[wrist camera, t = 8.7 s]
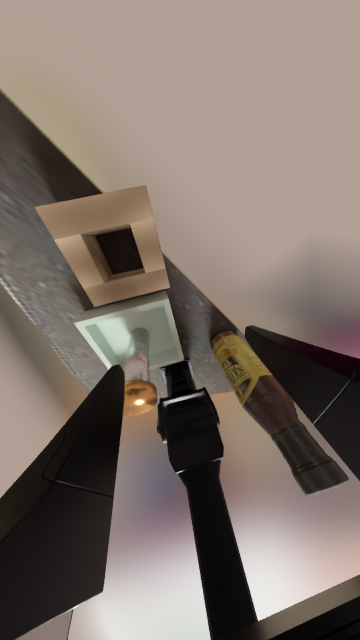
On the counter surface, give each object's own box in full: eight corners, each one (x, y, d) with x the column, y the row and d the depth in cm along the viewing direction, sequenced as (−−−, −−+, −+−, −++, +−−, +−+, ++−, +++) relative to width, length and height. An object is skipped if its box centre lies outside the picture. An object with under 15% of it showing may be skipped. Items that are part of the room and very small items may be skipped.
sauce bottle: (210, 331, 26) (322, 493, 9) (239, 327, 27) (387, 466, 10) (207, 355, 29) (285, 506, 13) (233, 351, 30) (337, 485, 14)
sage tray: (180, 346, 27) (184, 360, 24) (120, 364, 26) (116, 380, 23) (165, 290, 20) (168, 298, 17) (85, 310, 19) (73, 323, 16)
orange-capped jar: (156, 341, 23) (162, 407, 14) (131, 348, 23) (120, 420, 14) (148, 320, 21) (149, 384, 12) (121, 328, 21) (99, 399, 11)
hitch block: (166, 279, 19) (170, 287, 16) (104, 294, 19) (94, 306, 15) (146, 198, 15) (145, 185, 11) (62, 215, 14) (34, 207, 11)
